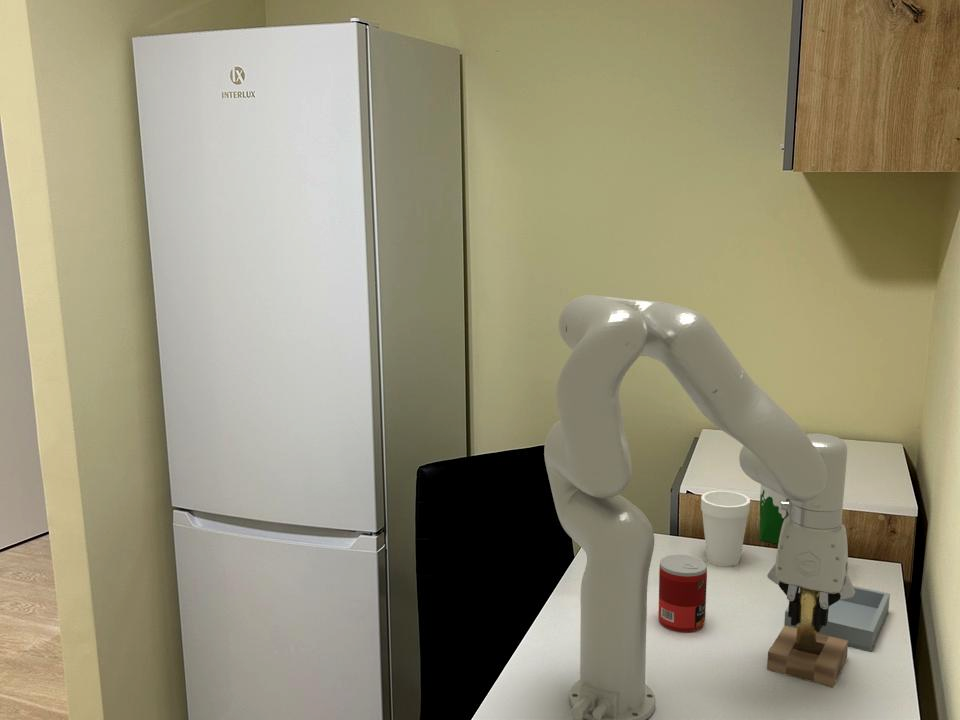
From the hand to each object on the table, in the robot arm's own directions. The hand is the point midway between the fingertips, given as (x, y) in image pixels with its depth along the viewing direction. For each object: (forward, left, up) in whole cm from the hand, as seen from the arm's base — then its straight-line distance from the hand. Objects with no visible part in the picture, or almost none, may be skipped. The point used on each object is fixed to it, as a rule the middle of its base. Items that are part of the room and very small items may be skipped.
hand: (807, 624), depth 147 cm
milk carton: (+49, +17, -7) cm, 53 cm away
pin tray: (+17, -1, -7) cm, 19 cm away
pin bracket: (0, 0, -7) cm, 7 cm away
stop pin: (0, 0, -3) cm, 3 cm away
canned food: (+3, +22, -7) cm, 23 cm away
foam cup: (+32, +24, -7) cm, 41 cm away
